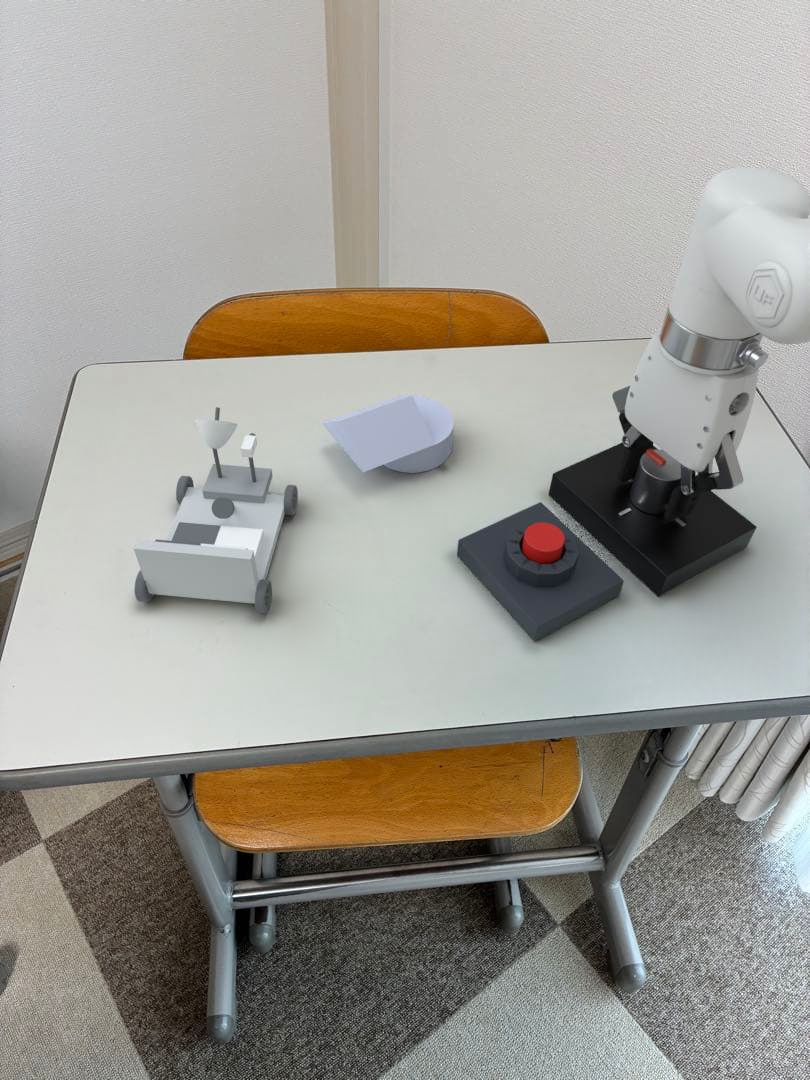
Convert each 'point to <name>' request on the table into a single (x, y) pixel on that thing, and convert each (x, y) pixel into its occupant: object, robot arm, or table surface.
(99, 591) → the table surface
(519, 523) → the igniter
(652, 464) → the burner knob
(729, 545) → the stove panel
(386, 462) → the wedge on round base
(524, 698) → the table surface
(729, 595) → the table surface
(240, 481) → the toy car
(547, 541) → the button
